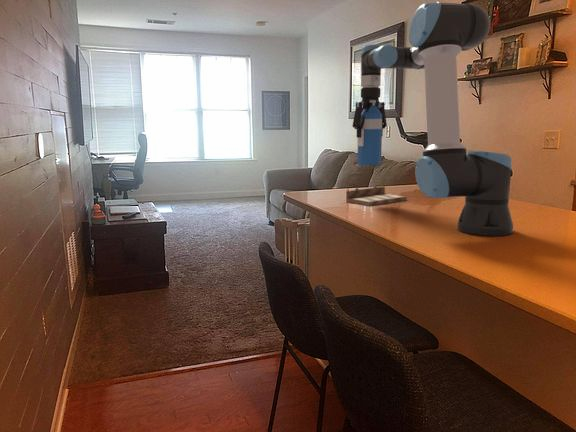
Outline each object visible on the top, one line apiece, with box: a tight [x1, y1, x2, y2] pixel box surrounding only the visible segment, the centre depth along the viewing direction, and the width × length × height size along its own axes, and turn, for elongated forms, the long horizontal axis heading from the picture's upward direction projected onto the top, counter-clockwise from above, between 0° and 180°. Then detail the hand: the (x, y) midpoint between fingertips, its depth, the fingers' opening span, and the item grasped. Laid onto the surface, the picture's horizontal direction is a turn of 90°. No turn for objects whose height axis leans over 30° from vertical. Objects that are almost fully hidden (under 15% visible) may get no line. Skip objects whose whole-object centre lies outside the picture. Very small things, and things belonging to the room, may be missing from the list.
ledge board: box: [345, 185, 408, 207], centre depth 189 cm, size 22×13×5 cm, turn 125°
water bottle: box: [357, 100, 383, 166], centre depth 180 cm, size 9×9×25 cm
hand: (369, 145), depth 181 cm, fingers closed on water bottle, 9 cm apart
